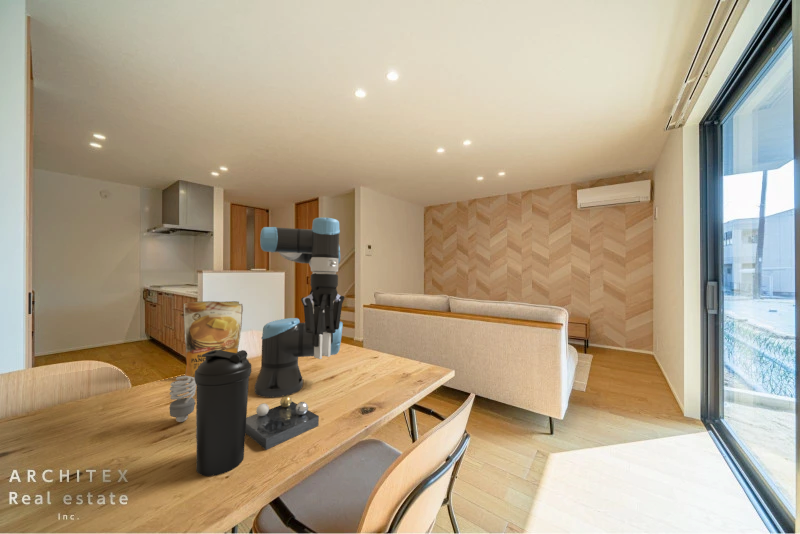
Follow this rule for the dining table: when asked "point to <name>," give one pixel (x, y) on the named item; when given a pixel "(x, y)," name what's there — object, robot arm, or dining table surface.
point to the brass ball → (285, 401)
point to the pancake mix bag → (210, 330)
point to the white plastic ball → (262, 409)
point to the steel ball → (301, 408)
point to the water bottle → (221, 411)
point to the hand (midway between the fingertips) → (322, 356)
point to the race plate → (279, 425)
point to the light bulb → (182, 398)
